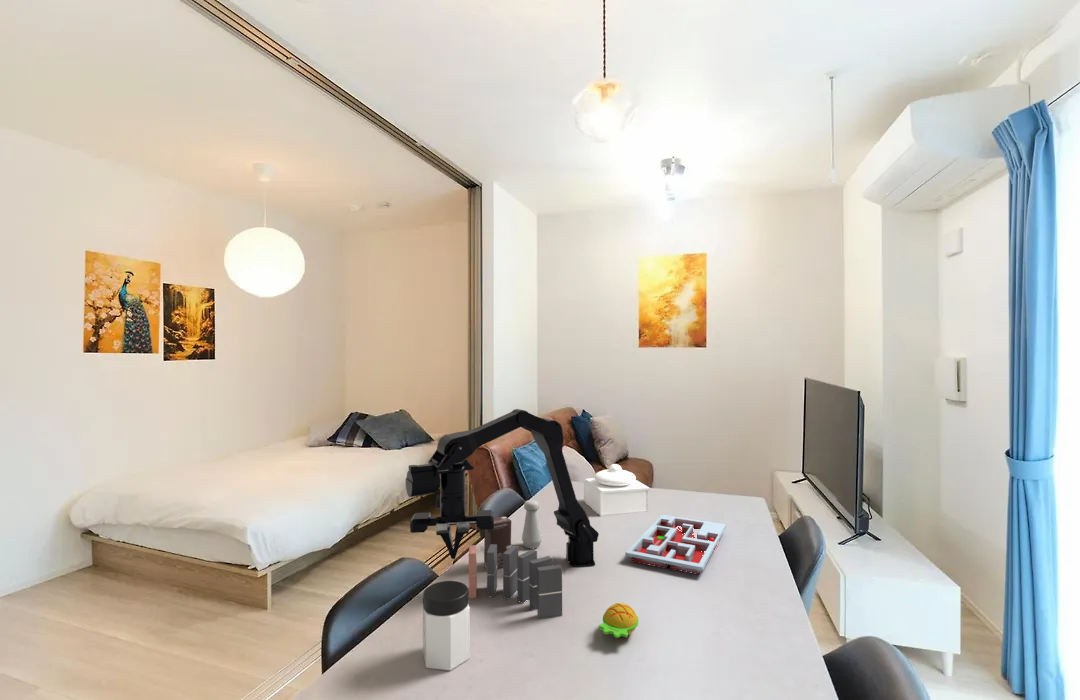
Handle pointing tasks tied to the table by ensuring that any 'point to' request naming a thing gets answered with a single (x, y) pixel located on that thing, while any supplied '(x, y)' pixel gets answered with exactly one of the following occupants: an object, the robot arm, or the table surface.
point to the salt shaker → (531, 525)
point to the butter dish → (615, 492)
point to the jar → (446, 625)
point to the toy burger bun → (619, 620)
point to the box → (498, 538)
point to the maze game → (677, 543)
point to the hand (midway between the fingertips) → (453, 558)
